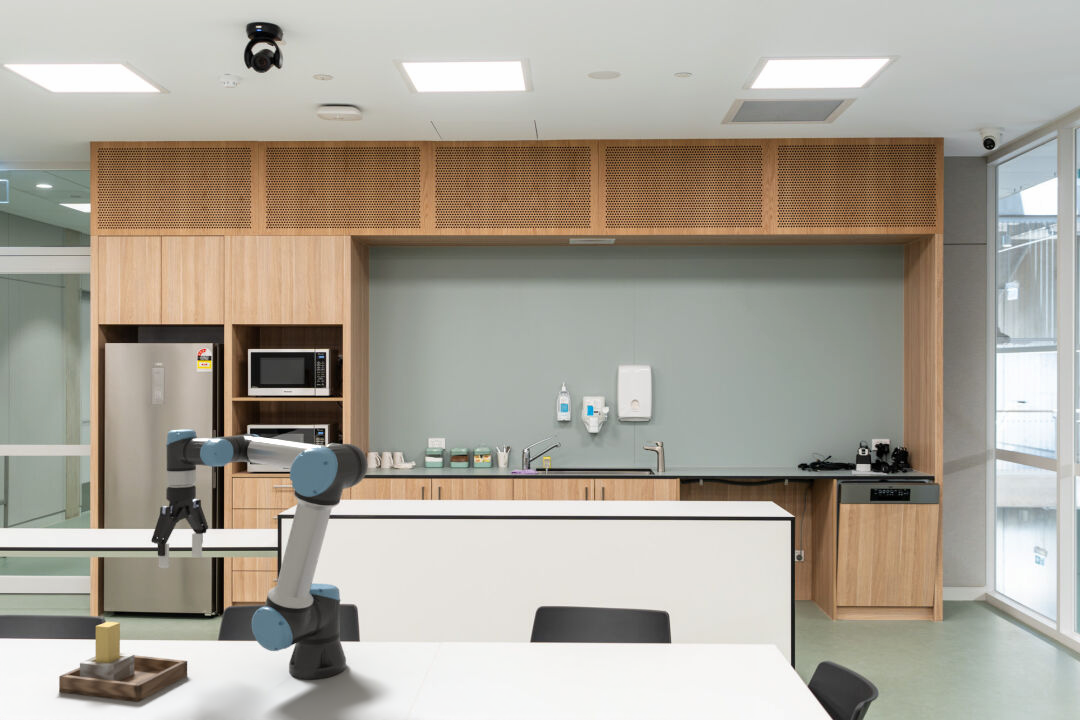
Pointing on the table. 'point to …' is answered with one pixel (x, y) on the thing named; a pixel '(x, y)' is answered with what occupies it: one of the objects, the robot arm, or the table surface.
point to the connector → (107, 642)
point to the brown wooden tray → (123, 677)
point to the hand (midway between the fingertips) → (180, 562)
